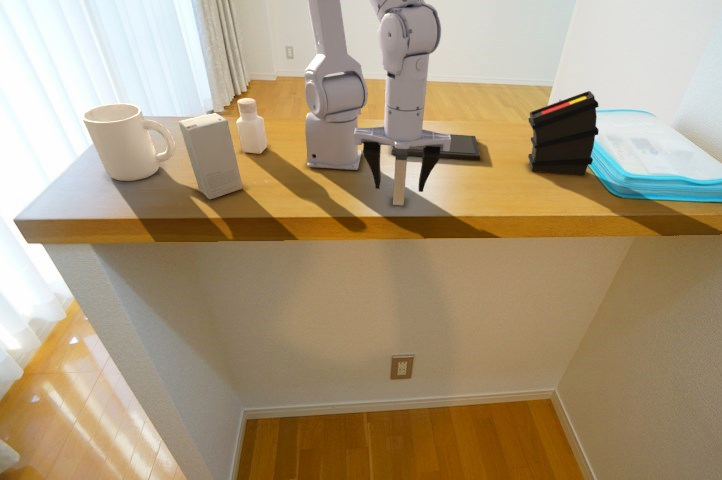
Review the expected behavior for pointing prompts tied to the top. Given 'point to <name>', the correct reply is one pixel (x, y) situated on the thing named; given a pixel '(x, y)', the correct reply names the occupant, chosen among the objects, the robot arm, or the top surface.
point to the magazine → (564, 135)
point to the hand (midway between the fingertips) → (399, 187)
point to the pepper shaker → (251, 127)
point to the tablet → (451, 148)
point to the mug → (126, 141)
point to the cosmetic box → (211, 154)
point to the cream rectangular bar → (399, 177)
